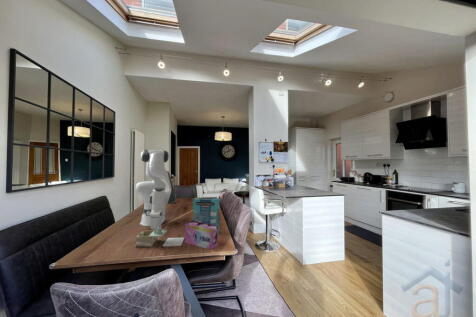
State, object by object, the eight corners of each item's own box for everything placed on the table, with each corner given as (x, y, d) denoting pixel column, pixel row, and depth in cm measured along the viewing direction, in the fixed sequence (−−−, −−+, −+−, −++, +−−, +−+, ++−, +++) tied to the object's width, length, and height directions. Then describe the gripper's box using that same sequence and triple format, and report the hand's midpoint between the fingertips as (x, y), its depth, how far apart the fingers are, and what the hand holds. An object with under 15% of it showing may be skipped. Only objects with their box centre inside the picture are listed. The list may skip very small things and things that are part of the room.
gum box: (219, 246, 131) (219, 225, 131) (212, 250, 124) (212, 229, 124) (192, 239, 142) (192, 220, 142) (184, 243, 135) (184, 223, 135)
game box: (219, 231, 159) (219, 198, 159) (217, 234, 152) (218, 199, 153) (194, 230, 161) (195, 197, 161) (192, 233, 154) (192, 199, 155)
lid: (153, 231, 139) (154, 226, 139) (166, 231, 140) (166, 226, 140) (148, 237, 129) (148, 231, 129) (162, 236, 130) (162, 231, 130)
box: (142, 240, 139) (143, 230, 139) (157, 239, 140) (157, 230, 140) (135, 247, 127) (136, 236, 128) (151, 246, 128) (151, 236, 128)
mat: (168, 238, 143) (168, 237, 143) (184, 238, 144) (184, 237, 144) (162, 246, 129) (162, 245, 129) (180, 245, 130) (180, 245, 130)
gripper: (158, 208, 145) (158, 226, 145) (148, 215, 125) (148, 237, 124) (167, 208, 146) (166, 226, 145) (158, 215, 125) (158, 236, 125)
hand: (158, 231), depth 135 cm, fingers closed on lid, 2 cm apart
